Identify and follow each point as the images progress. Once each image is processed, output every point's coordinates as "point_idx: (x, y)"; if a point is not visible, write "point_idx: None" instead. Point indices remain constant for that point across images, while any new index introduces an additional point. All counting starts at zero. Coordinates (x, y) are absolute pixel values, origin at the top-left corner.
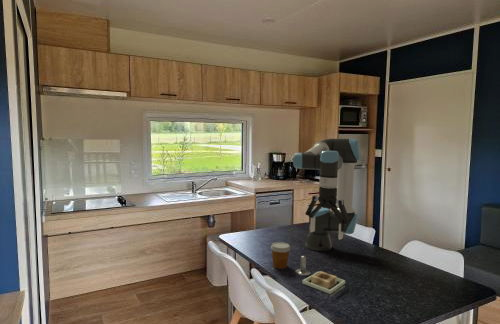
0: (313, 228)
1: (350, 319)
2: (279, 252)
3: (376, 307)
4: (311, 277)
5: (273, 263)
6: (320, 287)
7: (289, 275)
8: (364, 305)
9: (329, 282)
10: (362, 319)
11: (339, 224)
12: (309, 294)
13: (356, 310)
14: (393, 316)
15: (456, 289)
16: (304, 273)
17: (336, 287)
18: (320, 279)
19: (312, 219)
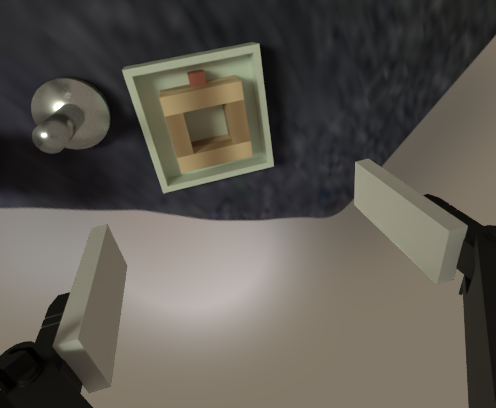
0: (112, 262)
1: None
2: None
3: (388, 82)
4: (182, 171)
5: None
6: (237, 174)
7: (55, 163)
8: (359, 104)
9: (250, 143)
10: None
11: (439, 280)
12: (216, 196)
13: (353, 148)
14: (436, 86)
15: None
16: (90, 121)
17: (268, 123)
18: (220, 161)
19: (111, 363)
